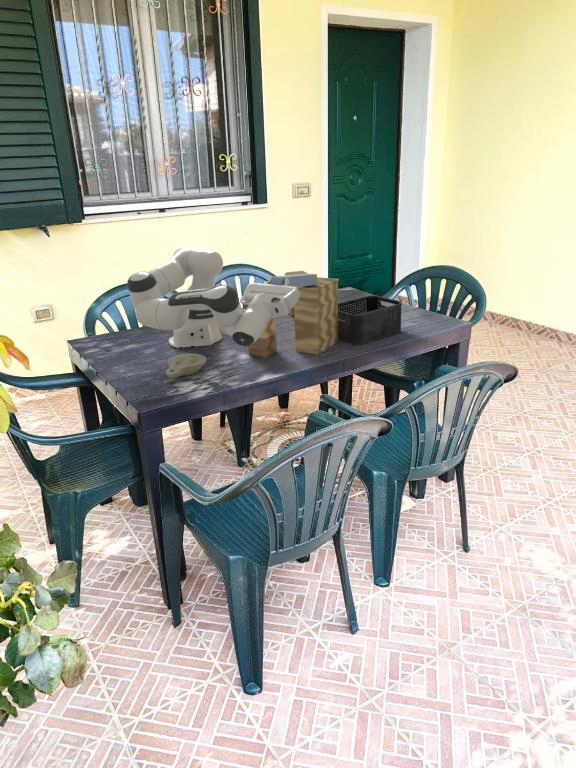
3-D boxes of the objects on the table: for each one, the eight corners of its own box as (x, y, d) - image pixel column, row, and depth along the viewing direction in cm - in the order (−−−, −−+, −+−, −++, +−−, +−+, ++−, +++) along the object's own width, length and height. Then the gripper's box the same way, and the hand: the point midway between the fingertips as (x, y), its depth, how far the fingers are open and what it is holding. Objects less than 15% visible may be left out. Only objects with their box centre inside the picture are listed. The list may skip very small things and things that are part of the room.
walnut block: (266, 357, 223) (265, 338, 220) (249, 354, 227) (247, 336, 224) (276, 351, 230) (276, 333, 227) (260, 348, 234) (259, 330, 231)
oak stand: (318, 354, 223) (317, 288, 214) (294, 351, 229) (292, 286, 219) (339, 341, 238) (338, 279, 228) (316, 338, 243) (315, 277, 234)
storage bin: (355, 346, 231) (355, 314, 226) (324, 336, 246) (323, 305, 241) (404, 332, 247) (405, 302, 242) (372, 323, 261) (373, 294, 256)
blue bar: (281, 289, 199) (281, 277, 198) (271, 288, 200) (271, 276, 199) (316, 284, 220) (317, 274, 219) (307, 283, 222) (307, 273, 221)
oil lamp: (190, 387, 198) (188, 373, 196) (152, 384, 201) (150, 370, 200) (213, 366, 216) (212, 353, 214) (179, 364, 220) (177, 351, 218)
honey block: (265, 338, 220) (264, 319, 218) (247, 336, 224) (246, 317, 222) (275, 333, 227) (275, 314, 224) (259, 330, 231) (257, 312, 228)
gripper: (241, 310, 201) (258, 283, 208) (291, 316, 192) (308, 288, 199) (235, 296, 197) (253, 270, 204) (286, 302, 187) (303, 274, 194)
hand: (280, 279), depth 201 cm, fingers closed on blue bar, 4 cm apart
